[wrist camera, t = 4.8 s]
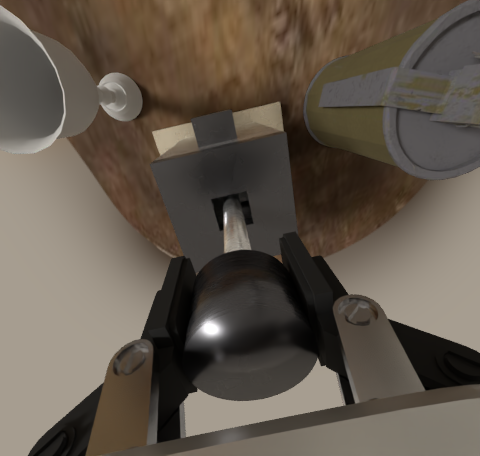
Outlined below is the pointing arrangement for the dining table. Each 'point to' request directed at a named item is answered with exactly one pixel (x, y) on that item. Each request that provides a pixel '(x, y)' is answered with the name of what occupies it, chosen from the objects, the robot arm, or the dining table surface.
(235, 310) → the plunger
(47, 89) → the chalice
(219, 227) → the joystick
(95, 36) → the dining table surface
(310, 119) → the canister
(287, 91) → the dining table surface
